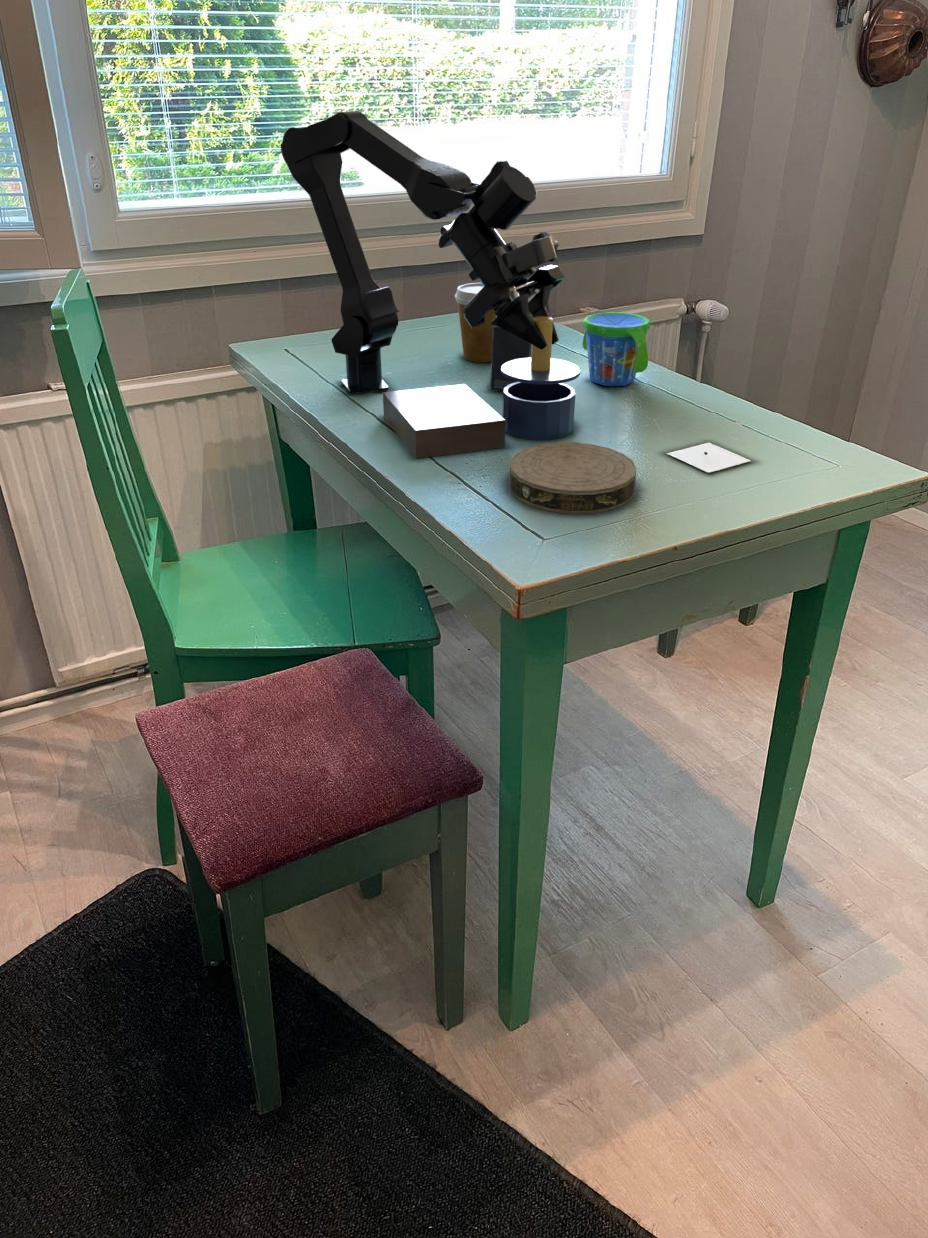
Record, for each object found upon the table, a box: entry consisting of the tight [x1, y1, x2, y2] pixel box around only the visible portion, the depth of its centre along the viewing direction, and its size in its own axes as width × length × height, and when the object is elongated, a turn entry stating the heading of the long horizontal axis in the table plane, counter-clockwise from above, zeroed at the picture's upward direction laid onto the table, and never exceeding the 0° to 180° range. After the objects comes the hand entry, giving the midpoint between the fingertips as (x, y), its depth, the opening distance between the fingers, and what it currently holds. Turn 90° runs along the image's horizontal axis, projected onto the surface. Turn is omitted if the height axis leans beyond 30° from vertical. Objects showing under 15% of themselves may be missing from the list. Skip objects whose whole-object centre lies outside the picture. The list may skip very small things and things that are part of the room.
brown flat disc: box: [508, 441, 637, 515], centre depth 119 cm, size 16×16×3 cm
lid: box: [501, 316, 581, 385], centre depth 132 cm, size 11×11×8 cm
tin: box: [502, 382, 576, 441], centre depth 137 cm, size 10×10×6 cm
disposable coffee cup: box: [454, 282, 496, 363], centre depth 166 cm, size 10×10×12 cm
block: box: [382, 383, 506, 459], centre depth 135 cm, size 17×13×4 cm
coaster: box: [666, 442, 752, 473], centre depth 128 cm, size 8×8×1 cm
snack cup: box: [582, 311, 651, 387], centre depth 154 cm, size 16×10×10 cm
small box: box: [489, 326, 532, 392], centre depth 153 cm, size 11×6×10 cm, turn 168°
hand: (550, 344), depth 131 cm, fingers closed on lid, 3 cm apart
